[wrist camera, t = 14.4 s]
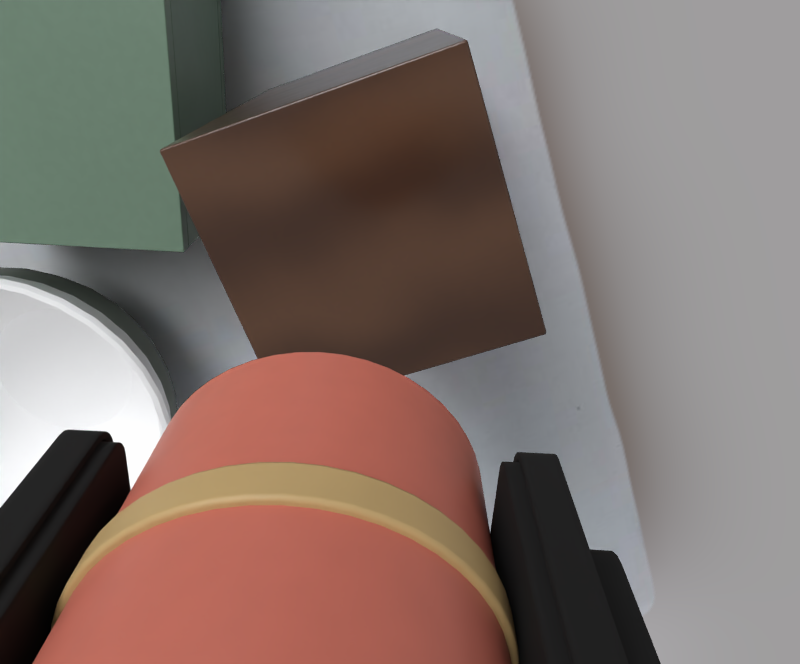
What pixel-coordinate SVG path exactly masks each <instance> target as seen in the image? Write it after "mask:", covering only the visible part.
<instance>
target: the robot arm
mask: <svg viewBox="0 0 800 664" xmlns="http://www.w3.org/2000/svg"><path fill="white" fill-rule="evenodd" d="M130 491H131V489H130V482H129V474H128V467H127V460H126V453H125V448H124V446H123V444H122V443H120V442H113V439H112V436H111V435H110V433H108V432H106V431H89V430H69V429H68V430H64V431H63V432H62V433H61V434H60V435H59V436H58V437H57V438H56V440H55V441H54V442H53V443H52V444H51V446H50V447H49V448H48V449H47V451H46V452H45V453H44V454H43V456H42V457H41V458H40V459H39V461H38V462H37V463H36V464H35V465H34V467H33V468H32V469H31V470H30V472H29V473H28V474H27V475H26V477H25V478H24V479H23V480H22V482H21V483H20V484H19V485H18V486H17V488H16V489H15V490H14V491H13V493H12V494H11V495H10V496H9V498H8V499H7V500H6V501H5V503H4V504H3V505H2V506H1V507H0V664H32V663H33V662H34V660H35V658H36V656H37V655H38V653H39V651H40V649H41V648H42V646H43V644H44V642H45V640H46V639H47V637H48V635H49V633H50V632H51V624H52V620H53V617H54V613H55V609H56V605H57V602H58V600H59V598H60V596H61V594H62V592H63V590H64V588H65V586H66V583H67V582H68V580H69V578H70V577H71V575H72V573H73V571H74V570H75V568H76V566H77V565H78V563H79V561H80V560H81V558H82V556H83V554H84V553H85V551H86V550H87V548H88V547H89V545H90V544H91V543H92V541H93V540H94V539H95V537H96V536H97V534H98V533H99V532H100V531H101V530H102V529H103V528H104V527H105V526H106V525H107V524H108V523H109V522H110V521H111V520H112V519H113V518H114V517H115V516H116V515H117V514H118V512H119V510H120V508H121V507H122V505H123V503H124V501H125V500H126V498H127V496H128V494H129V493H130ZM490 536H491V543H492V549H493V555H494V561H495V567H496V572H497V574H498V576H499V578H500V580H501V582H502V584H503V586H504V588H505V590H506V594H507V597H508V601H509V604H510V608H511V611H512V616H513V622H514V627H515V633H516V639H517V644H518V653H519V664H660V661H659V659H658V656H657V653H656V651H655V648H654V646H653V643H652V640H651V638H650V635H649V633H648V630H647V628H646V625H645V623H644V620H643V617H642V615H641V612H640V610H639V607H638V605H637V602H636V600H635V597H634V594H633V592H632V589H631V587H630V584H629V582H628V579H627V576H626V574H625V571H624V569H623V566H622V564H621V562H620V560H619V558H618V556H617V555H616V554H615V553H614V552H613V551H604V550H590V549H589V546H588V543H587V540H586V537H585V535H584V532H583V529H582V526H581V523H580V520H579V517H578V514H577V511H576V508H575V505H574V502H573V499H572V497H571V494H570V491H569V488H568V485H567V482H566V479H565V476H564V473H563V470H562V467H561V464H560V461H559V459H558V457H557V455H555V454H544V453H524V452H517V453H516V455H515V457H514V461H513V462H502V463H501V465H500V470H499V477H498V484H497V491H496V498H495V505H494V512H493V518H492V525H491V532H490Z"/></svg>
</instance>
